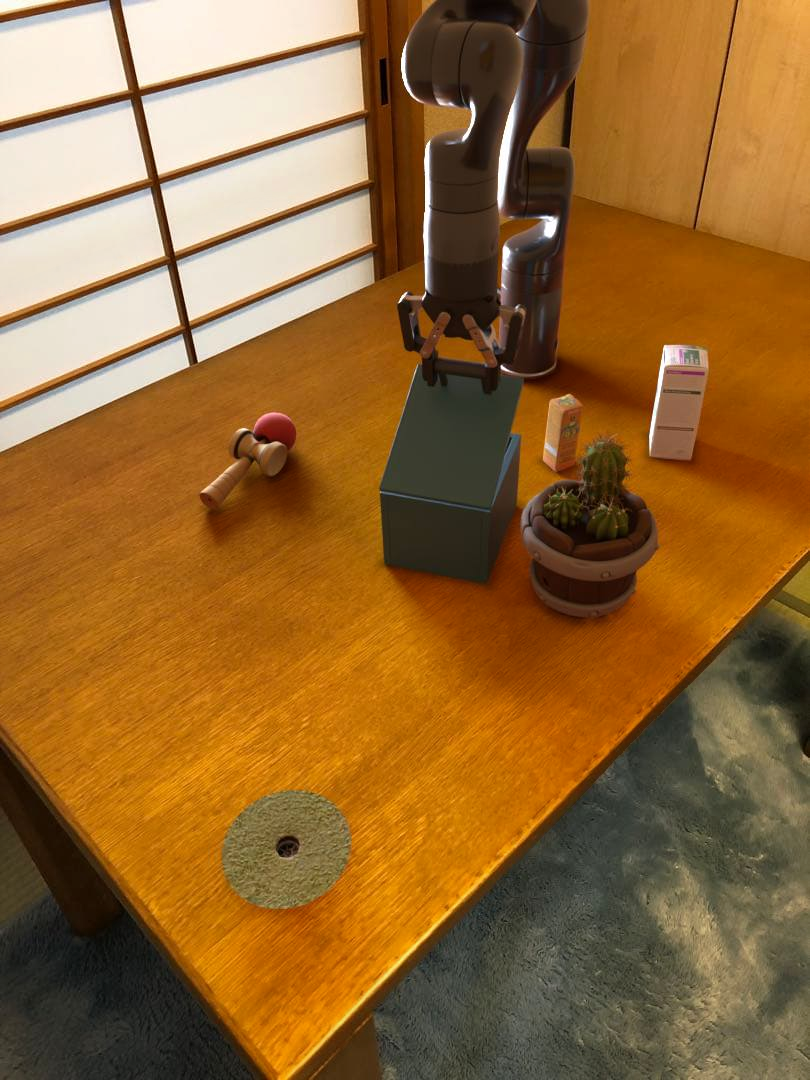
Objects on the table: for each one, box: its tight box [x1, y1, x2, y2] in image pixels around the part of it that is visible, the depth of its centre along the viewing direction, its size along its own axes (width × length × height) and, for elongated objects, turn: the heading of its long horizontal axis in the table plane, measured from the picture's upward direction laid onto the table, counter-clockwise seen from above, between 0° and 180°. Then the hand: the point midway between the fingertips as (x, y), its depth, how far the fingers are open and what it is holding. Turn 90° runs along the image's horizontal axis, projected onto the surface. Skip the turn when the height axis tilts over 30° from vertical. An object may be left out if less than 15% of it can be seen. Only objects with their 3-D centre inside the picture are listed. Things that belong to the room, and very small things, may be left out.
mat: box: [220, 789, 352, 910], centre depth 77 cm, size 11×11×2 cm
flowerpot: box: [520, 429, 660, 620], centre depth 95 cm, size 14×15×20 cm
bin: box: [379, 432, 522, 586], centre depth 106 cm, size 16×13×11 cm
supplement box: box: [542, 393, 584, 473], centre depth 117 cm, size 3×3×10 cm
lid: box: [378, 356, 525, 511], centre depth 98 cm, size 17×13×5 cm
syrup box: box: [649, 344, 710, 461], centre depth 118 cm, size 6×6×14 cm
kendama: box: [199, 412, 297, 511], centre depth 119 cm, size 8×6×18 cm
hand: (460, 386), depth 100 cm, fingers closed on lid, 6 cm apart
